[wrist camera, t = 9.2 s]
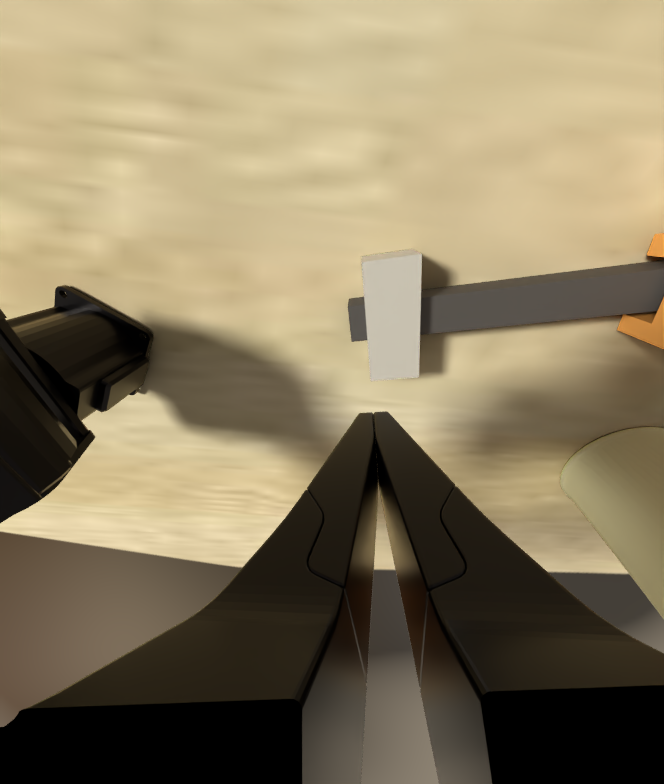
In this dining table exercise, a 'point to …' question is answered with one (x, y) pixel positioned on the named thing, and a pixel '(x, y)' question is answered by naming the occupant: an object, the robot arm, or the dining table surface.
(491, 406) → the dining table surface
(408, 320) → the toy mallet
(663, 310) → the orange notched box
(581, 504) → the can
